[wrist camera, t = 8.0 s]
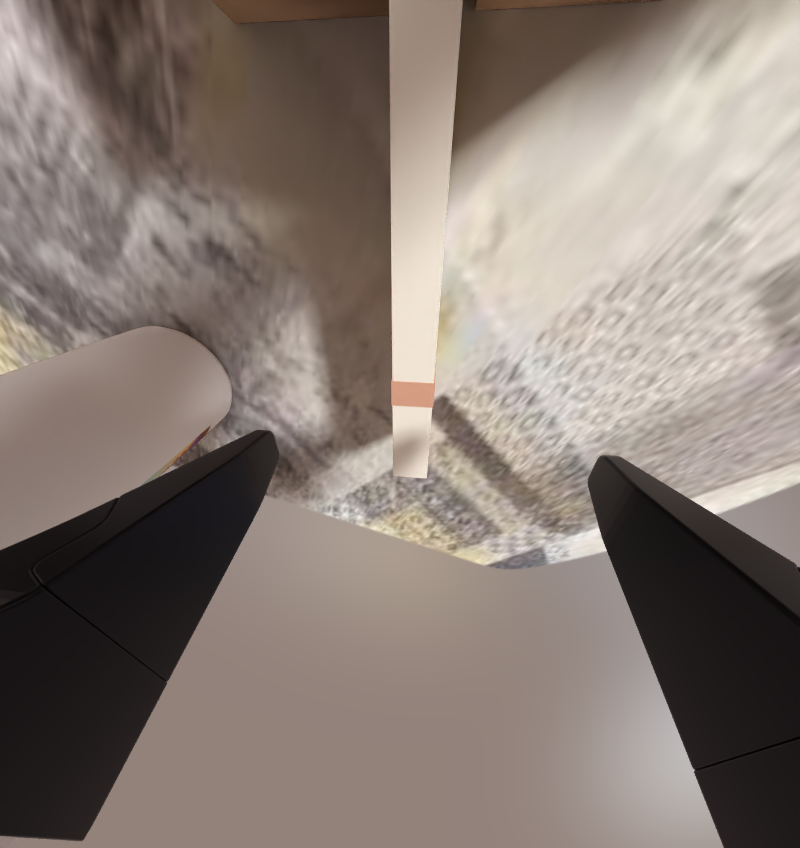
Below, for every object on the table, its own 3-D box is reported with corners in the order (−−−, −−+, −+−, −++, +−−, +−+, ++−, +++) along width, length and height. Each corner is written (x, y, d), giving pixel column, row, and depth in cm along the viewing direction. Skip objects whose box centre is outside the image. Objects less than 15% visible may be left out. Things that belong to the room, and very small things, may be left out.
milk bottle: (114, 308, 19) (-1751, 794, 3) (232, 340, 20) (-839, 942, 3) (143, 407, 24) (-537, 826, 7) (240, 432, 24) (-201, 889, 8)
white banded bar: (455, 84, 12) (465, -14, 7) (430, 418, 21) (427, 479, 16) (408, 86, 12) (386, -10, 7) (403, 416, 21) (392, 476, 16)
